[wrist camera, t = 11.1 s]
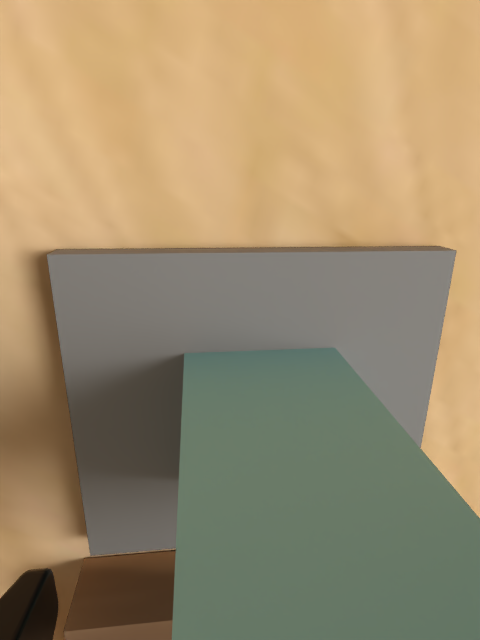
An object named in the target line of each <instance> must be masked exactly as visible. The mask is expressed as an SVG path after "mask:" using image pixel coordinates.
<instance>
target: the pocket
mask: <svg viewBox="0 0 480 640" xmlns="http://www.w3.org/2000/svg"><path fill="white" fill-rule="evenodd" d="M175 554H176V551H167V552H156V553H144V554H133V555H121V556H110V557H98V558H87V559H84V561H83V565H82V568H81V572H80V575H79V579H78V583H77V586H76V590H75V593H74V597H73V600H72V604H71V607H70V611H69V614H68V618H67V621H66V625H65V628H64V637H65V640H172V623H173V600H174V577H175Z"/></svg>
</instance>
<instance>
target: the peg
mask: <svg viewBox="0 0 480 640" xmlns="http://www.w3.org/2000/svg"><path fill="white" fill-rule="evenodd" d="M172 640H480V518H479V517H478V516H477V515H476V514H475V512H474V511H473V510H472V509H471V508H470V507H469V505H468V504H467V503H466V502H465V501H464V499H463V498H462V497H461V496H460V495H459V494H458V492H457V491H456V490H455V489H454V488H453V486H452V485H451V484H450V483H449V482H448V481H447V479H446V478H445V477H444V476H443V475H442V473H441V472H440V471H439V470H438V469H437V468H436V466H435V465H434V464H433V463H432V462H431V460H430V459H429V458H428V457H427V456H426V455H425V453H424V452H423V451H422V450H421V449H420V447H419V446H418V445H417V444H416V443H415V442H414V440H413V439H412V438H411V437H410V436H409V434H408V433H407V432H406V431H405V430H404V429H403V427H402V426H401V425H400V424H399V423H398V421H397V420H396V419H395V418H394V417H393V416H392V414H391V413H390V412H389V411H388V410H387V408H386V407H385V406H384V405H383V404H382V403H381V401H380V400H379V399H378V398H377V397H376V395H375V394H374V393H373V392H372V391H371V390H370V388H369V387H368V386H367V385H366V384H365V382H364V381H363V380H362V379H361V378H360V377H359V375H358V374H357V373H356V372H355V371H354V369H353V368H352V367H351V366H350V365H349V364H348V362H347V361H346V360H345V359H344V358H343V356H342V355H341V354H340V353H339V352H338V351H337V349H336V348H311V349H284V350H257V351H231V352H204V353H184V372H183V395H182V417H181V440H180V463H179V486H178V509H177V531H176V554H175V577H174V600H173V623H172Z"/></svg>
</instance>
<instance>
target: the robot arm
mask: <svg viewBox="0 0 480 640" xmlns="http://www.w3.org/2000/svg"><path fill="white" fill-rule="evenodd" d="M57 615H58V597H57V592H56V587H55V581H54V576H53V572H52V571H51V569H48V568H45V569H33V570H28V571H26V572H25V573H23V574H22V575H21V576H20V577H19V578H18V580H17V581H16V582H15V583H14V584H13V585H12V586H11V587H10V588H9V589H8V590H7V592H6V593H5V594H4V595H3V596H2V597H1V598H0V640H53V635H54V630H55V625H56V620H57Z"/></svg>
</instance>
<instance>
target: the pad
mask: <svg viewBox="0 0 480 640" xmlns="http://www.w3.org/2000/svg"><path fill="white" fill-rule="evenodd" d="M455 256H456V250H452V249H449V248H445V247H441V246H402V247H284V248H165V249H56V250H55V251H53V252H51V253H49V254H47V260H48V267H49V274H50V281H51V288H52V295H53V301H54V308H55V315H56V322H57V329H58V336H59V343H60V350H61V356H62V363H63V370H64V377H65V384H66V391H67V398H68V405H69V412H70V418H71V425H72V432H73V439H74V446H75V453H76V460H77V467H78V474H79V480H80V487H81V494H82V501H83V508H84V515H85V522H86V529H87V536H88V542H89V549H90V556H92V555H104V554H116V553H127V552H139V551H150V550H162V549H173V548H176V531H177V509H178V486H179V463H180V440H181V417H182V395H183V372H184V353H204V352H231V351H257V350H284V349H311V348H336V349H337V351H338V352H339V353H340V354H341V355H342V356H343V358H344V359H345V360H346V361H347V362H348V364H349V365H350V366H351V367H352V368H353V369H354V371H355V372H356V373H357V374H358V375H359V377H360V378H361V379H362V380H363V381H364V382H365V384H366V385H367V386H368V387H369V388H370V390H371V391H372V392H373V393H374V394H375V395H376V397H377V398H378V399H379V400H380V401H381V403H382V404H383V405H384V406H385V407H386V408H387V410H388V411H389V412H390V413H391V414H392V416H393V417H394V418H395V419H396V420H397V421H398V423H399V424H400V425H401V426H402V427H403V429H404V430H405V431H406V432H407V433H408V434H409V436H410V437H411V438H412V439H413V440H414V442H415V443H416V444H417V445H418V446H419V447H420V448H421V443H422V437H423V432H424V426H425V421H426V415H427V410H428V404H429V399H430V393H431V388H432V382H433V377H434V371H435V366H436V360H437V355H438V349H439V344H440V338H441V333H442V327H443V322H444V316H445V311H446V305H447V300H448V294H449V289H450V283H451V278H452V272H453V267H454V261H455Z"/></svg>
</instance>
